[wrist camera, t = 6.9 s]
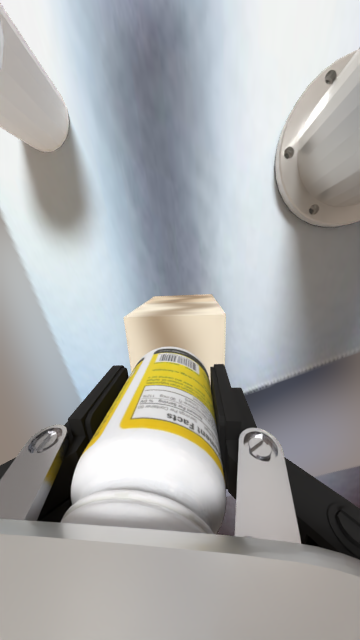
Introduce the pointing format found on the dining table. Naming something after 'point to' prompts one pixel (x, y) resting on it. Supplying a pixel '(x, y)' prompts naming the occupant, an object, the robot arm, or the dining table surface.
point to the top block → (178, 330)
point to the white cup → (28, 93)
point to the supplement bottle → (155, 453)
